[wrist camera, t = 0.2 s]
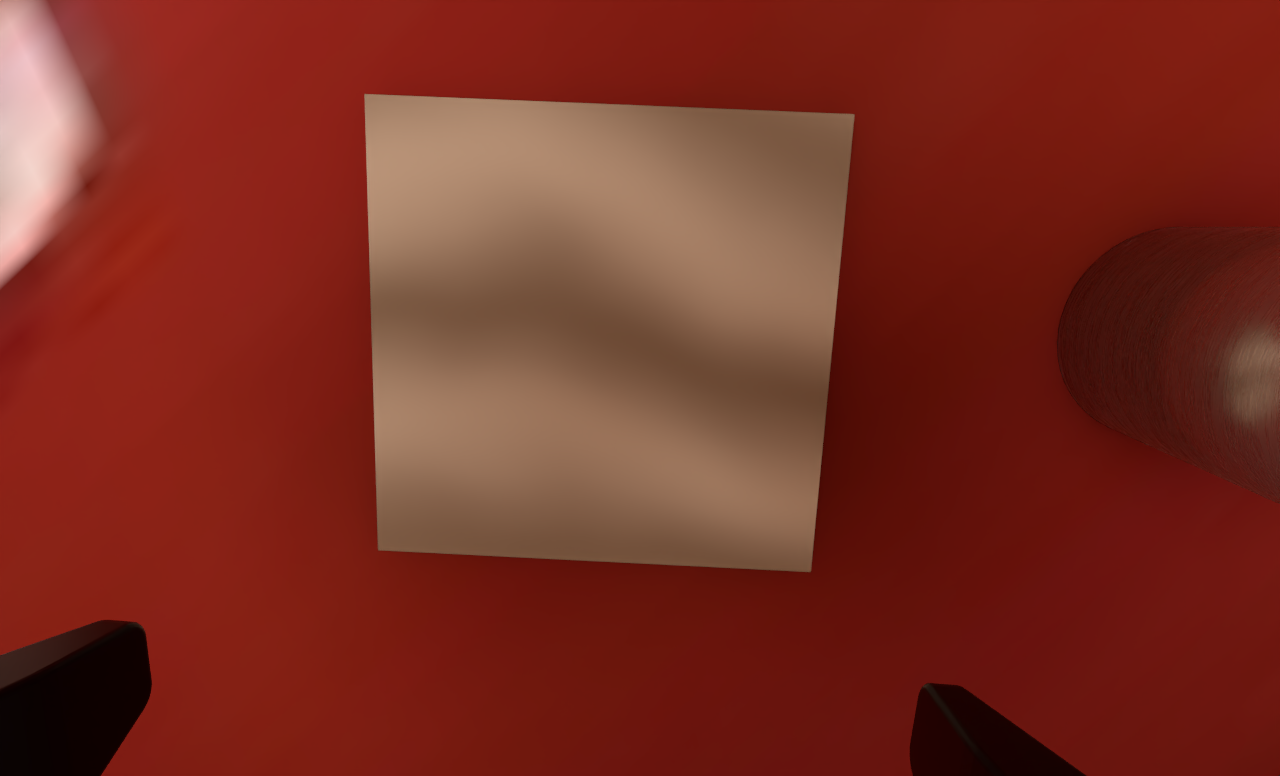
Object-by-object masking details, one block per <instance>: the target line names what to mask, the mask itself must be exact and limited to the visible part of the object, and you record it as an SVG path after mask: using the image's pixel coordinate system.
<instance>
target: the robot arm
mask: <svg viewBox="0 0 1280 776" xmlns="http://www.w3.org/2000/svg"><path fill="white" fill-rule="evenodd" d="M151 686H152V680H151V672H150V664H149V656H148V648H147V640H146V634H145V631H144V629H143V627H142V626H141V625H140V624H138V623H136V622H128V621H115V620H101V621H97V622H95V623H92V624H89V625H86V626H83V627H80V628H77V629H75V630H72V631H69V632H66V633H63V634H60V635H57V636H54V637H52V638H49V639H46V640H43V641H40V642H37V643H34V644H32V645H29V646H26V647H23V648H20V649H17V650H14V651H11V652H9V653H6V654H3V655H0V776H101V774H102V773H103V771H104V770H105V768H106V767H107V765H108V764H109V762H110V761H111V759H112V758H113V756H114V754H115V753H116V751H117V750H118V748H119V747H120V745H121V744H122V742H123V741H124V739H125V737H126V736H127V734H128V733H129V731H130V730H131V728H132V727H133V725H134V724H135V722H136V720H137V719H138V717H139V716H140V714H141V713H142V711H143V710H144V708H145V706H146V704H147V702H148V700H149V697H150V693H151ZM910 763H911V769H912V773H913V776H1086V775H1085V774H1083V773H1082V772H1080V771H1079V770H1078V769H1076V768H1075V767H1073V766H1072V765H1071V764H1069V763H1068V762H1066V761H1065V760H1064V759H1062V758H1061V757H1059V756H1058V755H1057V754H1055V753H1054V752H1052V751H1051V750H1050V749H1048V748H1047V747H1046V746H1044V745H1043V744H1041V743H1040V742H1039V741H1037V740H1036V739H1034V738H1033V737H1032V736H1030V735H1029V734H1027V733H1026V732H1025V731H1023V730H1022V729H1020V728H1019V727H1018V726H1016V725H1015V724H1013V723H1012V722H1011V721H1009V720H1008V719H1006V718H1005V717H1004V716H1002V715H1001V714H999V713H998V712H997V711H995V710H994V709H992V708H991V707H990V706H988V705H987V704H985V703H984V702H983V701H981V700H980V699H979V698H977V697H976V696H974V695H973V694H972V693H970V692H969V691H967V690H966V689H964V688H963V687H961V686H958V685H948V684H934V683H927V684H925V685H924V686H923V687H922V688H921V690H920V692H919V696H918V701H917V707H916V713H915V719H914V724H913V730H912V736H911V742H910Z"/></svg>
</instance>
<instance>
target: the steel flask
mask: <svg viewBox="0 0 1280 776" xmlns="http://www.w3.org/2000/svg"><path fill="white" fill-rule="evenodd" d="M1057 349H1058V360H1059V366H1060V370H1061V373H1062V376H1063V379H1064V382H1065V384H1066V386H1067V388H1068V390H1069V392H1070V394H1071V395H1072V396H1073V398H1074V399H1075V401H1076V402H1077V403H1078V405H1079V406H1080V407H1081V408H1082V409H1083V410H1084V411H1085V412H1086V413H1087V414H1089V415H1090V416H1091V417H1093V418H1094V419H1095V420H1096V421H1098V422H1100V423H1102V424H1103V425H1105V426H1107V427H1109V428H1111V429H1113V430H1116V431H1118V432H1120V433H1122V434H1125V435H1127V436H1129V437H1131V438H1134V439H1136V440H1138V441H1140V442H1142V443H1145V444H1147V445H1149V446H1151V447H1154V448H1156V449H1158V450H1160V451H1163V452H1165V453H1167V454H1169V455H1171V456H1174V457H1176V458H1178V459H1180V460H1183V461H1185V462H1187V463H1189V464H1192V465H1194V466H1196V467H1198V468H1200V469H1203V470H1205V471H1207V472H1209V473H1212V474H1214V475H1216V476H1218V477H1221V478H1223V479H1225V480H1227V481H1229V482H1232V483H1234V484H1236V485H1238V486H1241V487H1243V488H1245V489H1247V490H1250V491H1252V492H1254V493H1256V494H1258V495H1261V496H1263V497H1265V498H1267V499H1270V500H1272V501H1274V502H1276V503H1279V504H1280V227H1168V228H1162V229H1155V230H1152V231H1148V232H1145V233H1141V234H1139V235H1136V236H1134V237H1132V238H1129V239H1127V240H1125V241H1124V242H1122V243H1120V244H1118V245H1116V246H1115V247H1113V248H1112V249H1110V250H1109V251H1108V252H1106V253H1105V254H1104V255H1102V256H1101V257H1100V258H1099V259H1098V260H1097V261H1096V262H1095V263H1094V264H1092V265H1091V266H1090V268H1089V269H1088V270H1087V271H1086V272H1085V273H1084V275H1083V276H1082V277H1081V278H1080V280H1079V281H1078V283H1077V284H1076V286H1075V287H1074V289H1073V291H1072V293H1071V294H1070V296H1069V298H1068V300H1067V302H1066V305H1065V308H1064V311H1063V313H1062V316H1061V321H1060V325H1059V330H1058V340H1057Z"/></svg>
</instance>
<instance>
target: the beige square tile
mask: <svg viewBox="0 0 1280 776" xmlns="http://www.w3.org/2000/svg"><path fill="white" fill-rule="evenodd" d="M854 115H855V114H835V113H811V112H787V111H762V110H738V109H714V108H690V107H665V106H641V105H617V104H593V103H569V102H544V101H520V100H496V99H472V98H448V97H423V96H399V95H375V94H365V126H366V159H367V193H368V226H369V260H370V294H371V327H372V361H373V394H374V428H375V462H376V495H377V529H378V550H384V551H404V552H424V553H443V554H463V555H483V556H503V557H523V558H542V559H562V560H582V561H602V562H622V563H642V564H661V565H681V566H701V567H721V568H741V569H760V570H780V571H800V572H811V565H812V554H813V544H814V533H815V523H816V512H817V502H818V491H819V481H820V471H821V460H822V450H823V439H824V429H825V418H826V408H827V397H828V387H829V376H830V366H831V355H832V345H833V335H834V324H835V314H836V303H837V293H838V282H839V272H840V261H841V251H842V240H843V230H844V220H845V209H846V199H847V188H848V178H849V167H850V157H851V146H852V136H853V125H854Z"/></svg>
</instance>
